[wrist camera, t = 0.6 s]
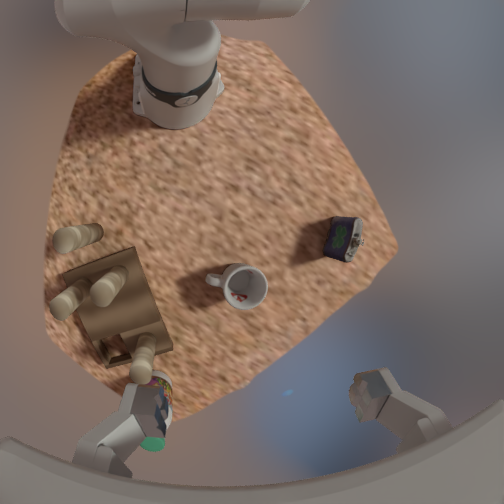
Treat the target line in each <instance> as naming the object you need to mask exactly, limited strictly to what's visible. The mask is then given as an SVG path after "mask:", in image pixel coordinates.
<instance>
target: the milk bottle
mask: <svg viewBox="0 0 504 504" xmlns="http://www.w3.org/2000/svg"><path fill="white" fill-rule="evenodd" d="M144 385H153V386H162V387H163V389H164V391H165V392H164V396H165V397H166V398H167V400H168V406H169V413H168V418H167V419H166V420H165V423H166V425H167V428H168V427H169V425H170V423H171V420H172V382H171V380H170V378H169V377H168V376H167V375H166V374H165V373H163V372H161V371H158V370H152V376H151V380H150V382H149V383H147V384H144ZM167 428H166V430H167ZM140 446H141V447H142V448H144V449H145V450H148V451H153V452H154V451H155V452H156V451H160V450H162V449H163V448H164V446H165V438H155V437H146V438H145V440H144V441H143V442H142V443H141V444H140Z"/></svg>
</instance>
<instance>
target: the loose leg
mask: <svg viewBox="0 0 504 504" xmlns="http://www.w3.org/2000/svg"><path fill="white" fill-rule="evenodd" d="M103 233H104V231H103V228H102V226H101V225H100V224H98V223H92V224H85V225H79V226H72V227H66V228H60V229H58V230H57V231H56V232H55V233H54V235H53V246H54V248H55V250H56V251H57V252H59V253H61V254H66V253H68V252H71V251H73V250H76V249H79V248H81V247H84V246H86V245H89V244H92V243H94V242H97V241H99V240H101V239H102V237H103Z"/></svg>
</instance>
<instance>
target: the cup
mask: <svg viewBox="0 0 504 504" xmlns="http://www.w3.org/2000/svg"><path fill="white" fill-rule="evenodd" d="M206 282H207V283H208V284H209V285H212V286H217V287H221V288H222V289H223V293H224V297H225V299H226V300H227V302H228V303H229V304H230V305H231V306H233V307H234V308H237V309H241V310H248V309H252V308H254V307H256V306H258V305H259V304H260V303H261V302H262V301H263V300H264V298H265V296H266V294H267V289H268V284H267V280H266V277H265V275H264V274H263V273H262V272H261V271H260V270H259V269H257V268H255V267H253V266H250V265H247V264H244V263H235V264H232V265H230V266H228V267H227V268H226V269H225V271H224V272H223V274H222V275H218V274H207V276H206Z"/></svg>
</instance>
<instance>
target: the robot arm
mask: <svg viewBox="0 0 504 504" xmlns="http://www.w3.org/2000/svg"><path fill="white" fill-rule="evenodd" d="M309 1H310V0H55V12H56V16H57V19H58V20H59V22H60V24H61V25H62V26H63V27H64V28H65V29H66V30H67V31H68V32H69V33H71V34H73V35H75V36H77V37H96V38H103V39H107V40H111V41H114V42H117V43H119V44H122V45H124V46H126V47H128V48H130V49H131V50H133V51H134V52H136V53H137V55H136V58H135V66H133V76H134V86H133V112H134V113H135V114H136V115H139V116H144V117H147V118H149V119H150V120H151V121H153V122H154V123H155V124H157V125H159V126H161V127H164V128H168V129H183V128H187V127H190V126H193V125H195V124H197V123H199V122H200V121H201V120H203V119H204V118H205V117H206V116H207V114H208V113H209V112H210V110H211V108H212V106H213V103H214V101H215V99H216V98H217V97H218V96H219V95H221V94H222V92H223V91H224V85H223V83H222V81H221V79H220V77H221V75H220V73H218V71H217V56H218V52H219V49H220V45H221V35H220V32H219V30H218V28H217V26H216V25H215V24H214V22H213V21H212V20H247V21H249V20H260V19H272V18H285V17H291V16H294V15H295V14H296V13H298V12H299V11H300V10H302V9H303V8H304V7H305V6H306V5H307V4H308V3H309ZM138 102H140V104H139V105H138V104H137V103H138ZM353 380H354V383H353V384H352V385H351V386H350V390H349V398H350V401H351V404H352V405H353V406H355V407H356V410H355V413H356V416H357V418H358V420H359V422H365V421H368V420H373V419H376V420H377V421H378V422H380V423H381V424H382V425H384V426H385V427H386V428H387V429H389V430H391V432H393V433H394V434H395V435H397V436H398V437H400V438H401V439H402V442H401V443H400V444H399V445H398V446H397V448H396V451H397V452H398V454H396V455H393V456H390V457H387V458H385V459H382V460H379V461H376V462H373V463H370V464H367V465H363V466H360V467H357V468H353V469H350V470H346V471H342V472H338V473H334V474H329V475H325V476H320V477H315V478H310V479H304V480H299V481H292V482H284V483H276V484H266V485H254V486H232V487H231V486H230V487H212V486H188V485H176V484H166V483H158V482H151V481H145V480H139V479H133V478H132V472H131V471H130V469H129V468H127V466H126V465H125V464H124V462H125V461H126V459H127V458H128V457H129V456H130V455H131V454H132V453H133V452H134V451H135V450H136V448H137V447H138V446H139V445H140V444H141V443H142V442H143V441H144V440H145V438H146V437H155V438H165V434H166V428H167V425H166V423H165V420H166V419H167V418H168V413H169V406H168V400H167V398H166V397H165V396H164V392H165V391H164V389H163V387H162V386H153V385H144V384H135V383H128V384H127V385H126V387H125V390H124V393H123V396H122V400H121V403H120V406H119V409H118V412H113V413H112V414H111V415H110V416H108V417H107V418H106V419H105V420H103V421H102V422H101V423H99V424H98V425H97V426H96V427H94V428H93V429H92V430H90V431H89V432H88V433H87V434H85V435H84V436H83V437H81V438H80V439H79V442H78V445H77V448H76V451H75V454H74V457H73V461H72V462H69V461H66V460H63V459H61V458H58V457H55V456H53V455H50V454H48V453H45V452H43V451H40V450H38V449H36V448H33V447H32V446H29V445H27V444H25V443H23V442H21V441H19V440H17V439H15V438H13V437H5V438H2V439H0V504H504V400H497V401H495V402H494V403H492V404H491V405H489V406H488V407H486V408H485V409H484V410H482V411H480V412H479V413H477V414H476V415H474V416H473V417H471V418H469V419H468V420H466V421H464V422H463V423H461V424H459V425H457V426H456V427H454V428H453V427H452V426H451V424H450V422H449V421H448V419H447V418H446V416H445V414H444V413H443V411H442V410H441V409H439V408H437V407H435V406H433V405H431V404H430V403H427V402H426V401H424V400H422V399H420V398H418V397H416V396H414V395H412V394H410V393H409V392H407V391H405V390H404V391H402V390H401V388H400V387H399V385H398V384H397V382H396V380H395V379H394V377H393V376H392V374H391V373H390V371H389V369H388V368H386V367H384V368H380V369H376V370H371V371H366V372H361V373H357V374H356V375H355V376H354V379H353Z"/></svg>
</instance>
